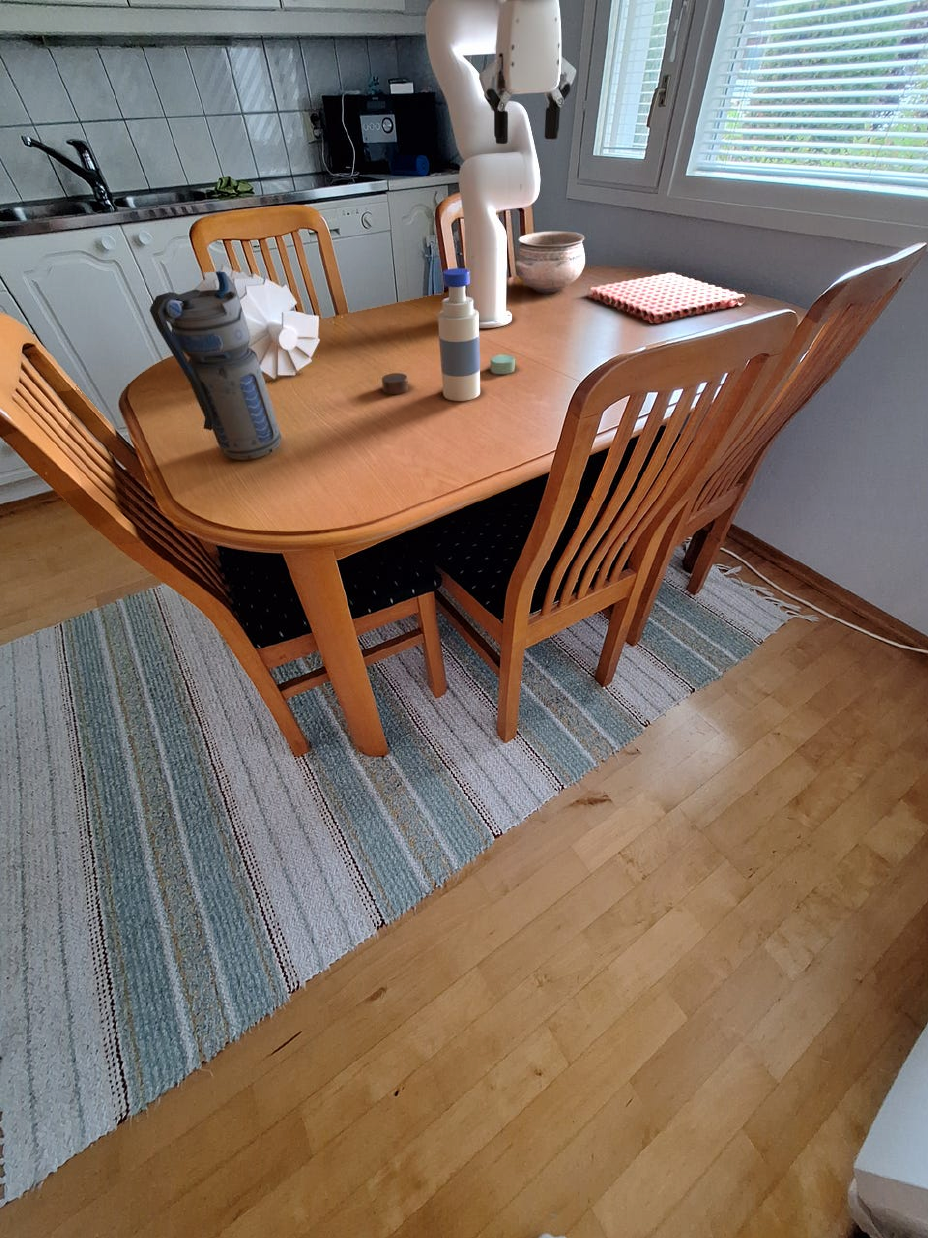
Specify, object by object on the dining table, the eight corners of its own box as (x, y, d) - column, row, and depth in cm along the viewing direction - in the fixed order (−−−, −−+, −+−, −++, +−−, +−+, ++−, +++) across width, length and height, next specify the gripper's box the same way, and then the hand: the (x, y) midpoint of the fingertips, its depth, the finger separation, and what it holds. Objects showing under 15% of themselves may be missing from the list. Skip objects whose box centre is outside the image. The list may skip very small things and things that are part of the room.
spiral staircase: (284, 404, 112) (227, 369, 124) (339, 345, 114) (277, 317, 126) (223, 330, 96) (164, 299, 108) (288, 264, 98) (223, 240, 110)
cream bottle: (437, 389, 104) (428, 269, 90) (471, 382, 106) (468, 263, 92) (450, 404, 100) (443, 279, 85) (486, 396, 101) (484, 272, 87)
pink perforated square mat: (587, 296, 144) (588, 287, 143) (669, 280, 152) (671, 271, 150) (654, 324, 126) (656, 314, 124) (743, 304, 133) (746, 295, 132)
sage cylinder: (486, 367, 111) (486, 356, 110) (508, 363, 112) (508, 352, 111) (496, 376, 108) (496, 364, 106) (518, 371, 109) (518, 360, 108)
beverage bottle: (198, 460, 88) (122, 289, 70) (259, 428, 96) (205, 266, 78) (237, 476, 84) (168, 298, 66) (298, 441, 92) (251, 273, 74)
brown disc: (380, 387, 107) (378, 375, 105) (404, 382, 108) (402, 371, 106) (387, 396, 103) (385, 384, 102) (411, 391, 104) (410, 379, 103)
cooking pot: (554, 275, 160) (557, 226, 152) (603, 286, 150) (609, 234, 141) (492, 293, 150) (492, 241, 141) (540, 306, 139) (543, 251, 130)
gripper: (566, -10, 84) (558, 136, 96) (468, -9, 79) (472, 144, 91) (593, -17, 79) (581, 137, 91) (490, -17, 74) (491, 146, 86)
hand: (526, 141), depth 91 cm, fingers open, 9 cm apart
